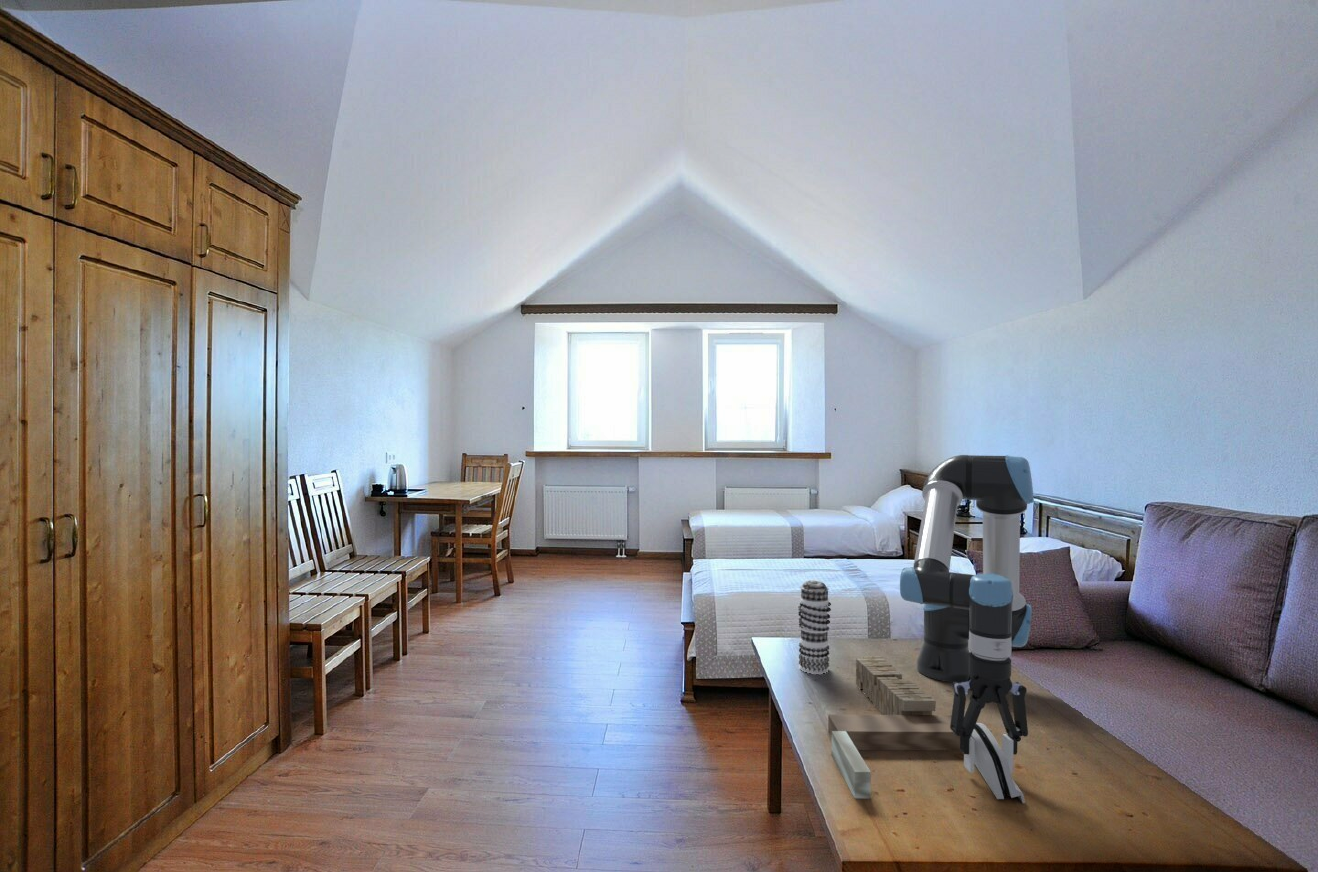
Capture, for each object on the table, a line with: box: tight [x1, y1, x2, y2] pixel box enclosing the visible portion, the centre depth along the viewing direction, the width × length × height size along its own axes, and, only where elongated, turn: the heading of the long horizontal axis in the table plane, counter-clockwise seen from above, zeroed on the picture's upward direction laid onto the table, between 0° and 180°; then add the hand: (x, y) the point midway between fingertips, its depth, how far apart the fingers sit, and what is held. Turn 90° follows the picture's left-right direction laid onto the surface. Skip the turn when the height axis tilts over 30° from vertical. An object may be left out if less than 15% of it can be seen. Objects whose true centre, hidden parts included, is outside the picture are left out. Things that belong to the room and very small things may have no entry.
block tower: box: [855, 655, 937, 715], centre depth 158 cm, size 8×8×29 cm
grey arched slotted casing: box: [971, 722, 1026, 804], centre depth 126 cm, size 17×5×10 cm, turn 171°
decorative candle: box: [797, 580, 832, 675], centre depth 182 cm, size 9×9×25 cm
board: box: [827, 714, 962, 799], centre depth 132 cm, size 32×26×5 cm
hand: (988, 769), depth 126 cm, fingers open, 7 cm apart
